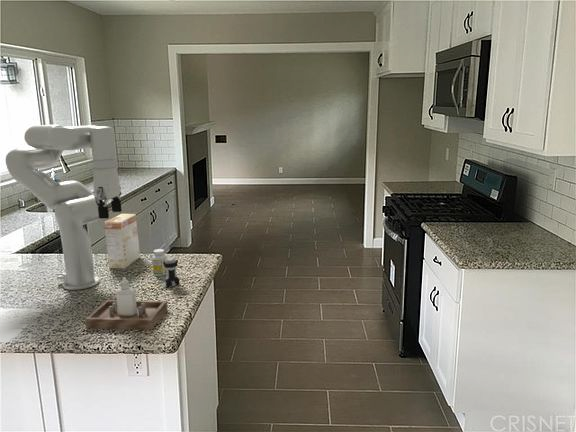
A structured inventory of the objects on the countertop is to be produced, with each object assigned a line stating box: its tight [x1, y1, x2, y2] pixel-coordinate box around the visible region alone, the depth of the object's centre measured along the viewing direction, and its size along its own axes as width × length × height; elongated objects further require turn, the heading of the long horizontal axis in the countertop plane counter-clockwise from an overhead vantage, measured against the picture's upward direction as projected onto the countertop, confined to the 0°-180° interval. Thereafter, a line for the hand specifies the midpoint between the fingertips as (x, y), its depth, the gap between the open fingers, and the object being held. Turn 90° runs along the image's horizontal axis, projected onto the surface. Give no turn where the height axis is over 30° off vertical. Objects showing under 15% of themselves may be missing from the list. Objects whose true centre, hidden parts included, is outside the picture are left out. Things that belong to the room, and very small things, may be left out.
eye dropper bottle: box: [115, 276, 137, 316], centre depth 147 cm, size 4×6×12 cm
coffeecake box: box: [103, 213, 141, 269], centre depth 200 cm, size 15×7×20 cm, turn 172°
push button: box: [160, 257, 180, 288], centre depth 174 cm, size 7×5×10 cm
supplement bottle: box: [151, 248, 167, 277], centre depth 186 cm, size 5×5×10 cm
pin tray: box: [84, 299, 168, 331], centre depth 148 cm, size 20×14×4 cm
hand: (110, 214), depth 162 cm, fingers open, 9 cm apart
